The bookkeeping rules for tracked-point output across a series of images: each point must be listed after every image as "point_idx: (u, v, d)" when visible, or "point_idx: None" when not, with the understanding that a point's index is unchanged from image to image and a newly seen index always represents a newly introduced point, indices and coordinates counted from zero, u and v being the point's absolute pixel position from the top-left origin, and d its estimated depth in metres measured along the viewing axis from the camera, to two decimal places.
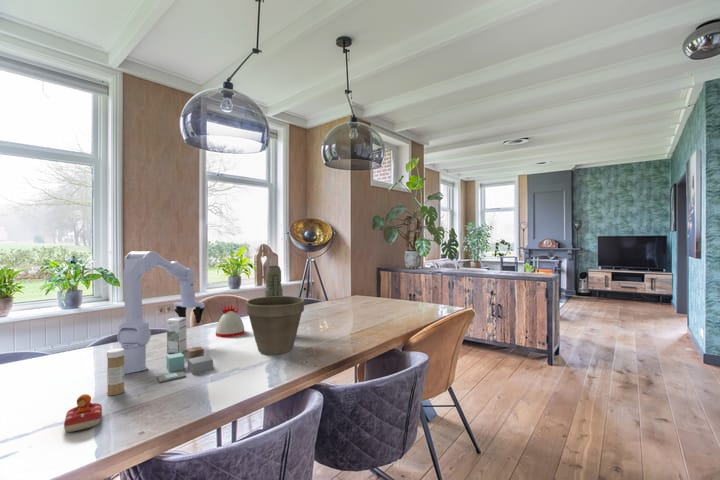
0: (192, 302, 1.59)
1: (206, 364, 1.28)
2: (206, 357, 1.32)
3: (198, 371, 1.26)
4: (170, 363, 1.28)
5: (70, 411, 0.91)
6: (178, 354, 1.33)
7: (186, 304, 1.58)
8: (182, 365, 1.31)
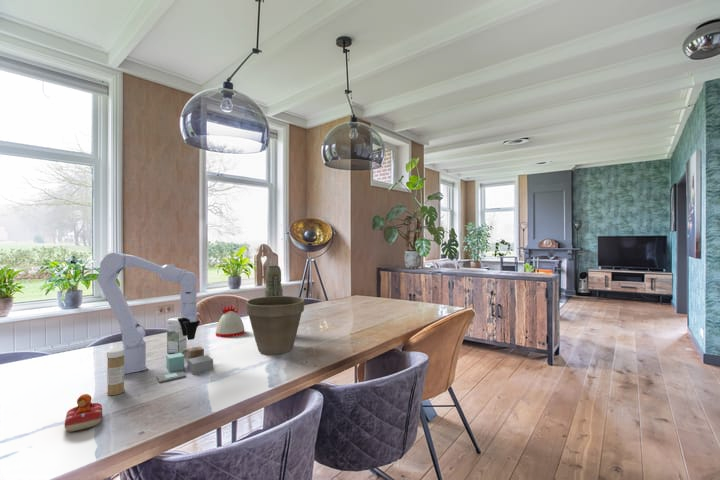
0: (187, 313, 1.36)
1: (206, 364, 1.28)
2: (206, 357, 1.32)
3: (198, 371, 1.26)
4: (170, 363, 1.28)
5: (70, 411, 0.92)
6: (178, 354, 1.33)
7: (181, 314, 1.36)
8: (182, 365, 1.31)
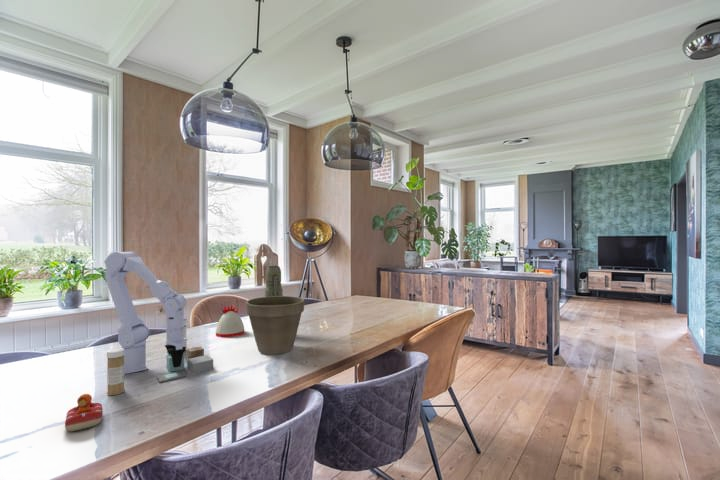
0: (173, 340, 1.29)
1: (206, 363, 1.28)
2: (206, 357, 1.32)
3: (198, 371, 1.27)
4: (170, 363, 1.28)
5: (71, 411, 0.92)
6: None
7: (167, 340, 1.29)
8: (182, 365, 1.31)
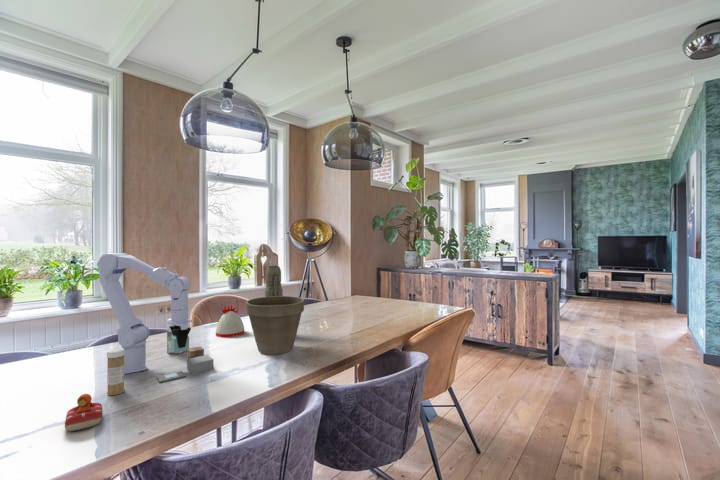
0: (178, 320, 1.29)
1: (206, 363, 1.28)
2: (206, 357, 1.32)
3: (199, 371, 1.27)
4: (175, 343, 1.28)
5: (70, 411, 0.92)
6: None
7: (172, 321, 1.29)
8: (187, 346, 1.30)
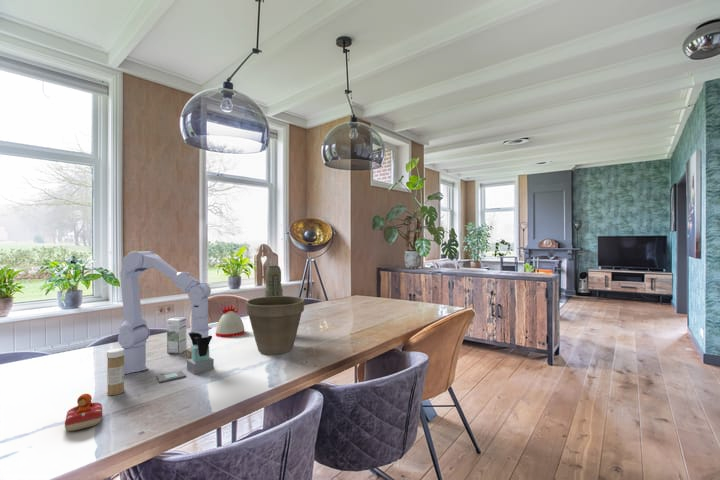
0: (199, 328, 1.28)
1: (207, 363, 1.29)
2: None
3: (199, 371, 1.27)
4: (195, 353, 1.27)
5: (70, 410, 0.92)
6: None
7: (192, 329, 1.28)
8: (207, 355, 1.30)
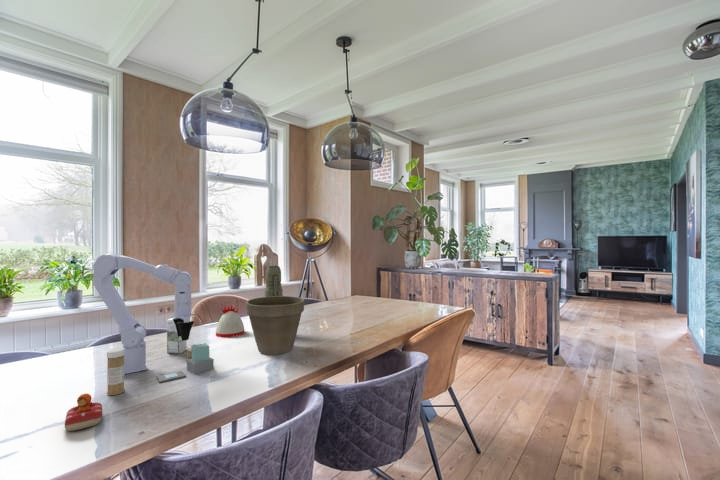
0: (181, 313, 1.34)
1: (207, 363, 1.29)
2: None
3: (199, 371, 1.27)
4: (195, 353, 1.27)
5: (70, 410, 0.92)
6: (203, 344, 1.32)
7: (175, 314, 1.34)
8: (207, 355, 1.29)
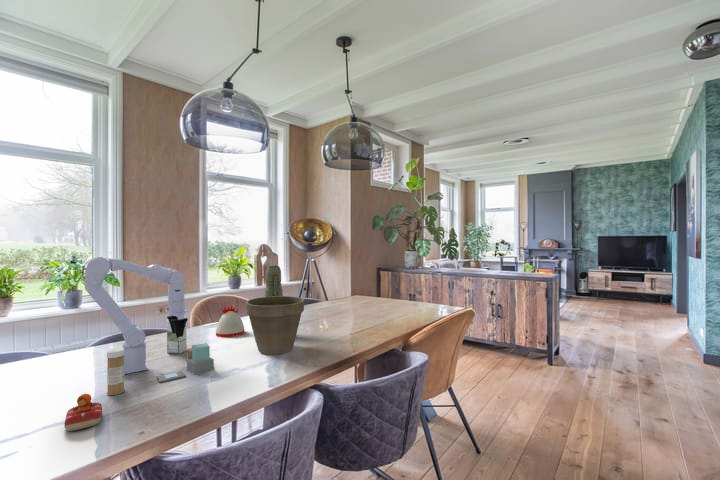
0: (175, 311, 1.37)
1: (207, 363, 1.29)
2: None
3: (199, 371, 1.27)
4: (196, 353, 1.27)
5: (70, 410, 0.92)
6: (203, 344, 1.31)
7: (169, 312, 1.38)
8: (207, 355, 1.29)
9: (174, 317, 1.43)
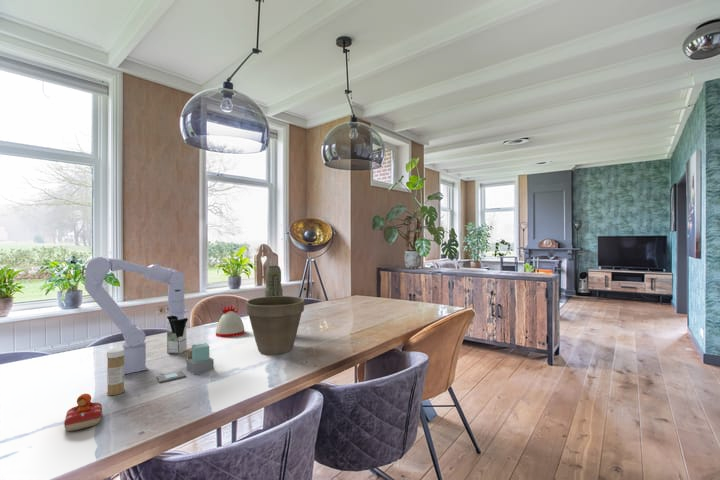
0: (175, 311, 1.37)
1: (206, 364, 1.28)
2: None
3: (199, 371, 1.27)
4: (195, 353, 1.27)
5: (70, 410, 0.92)
6: (203, 344, 1.32)
7: (169, 312, 1.38)
8: (207, 355, 1.29)
9: (174, 317, 1.43)
